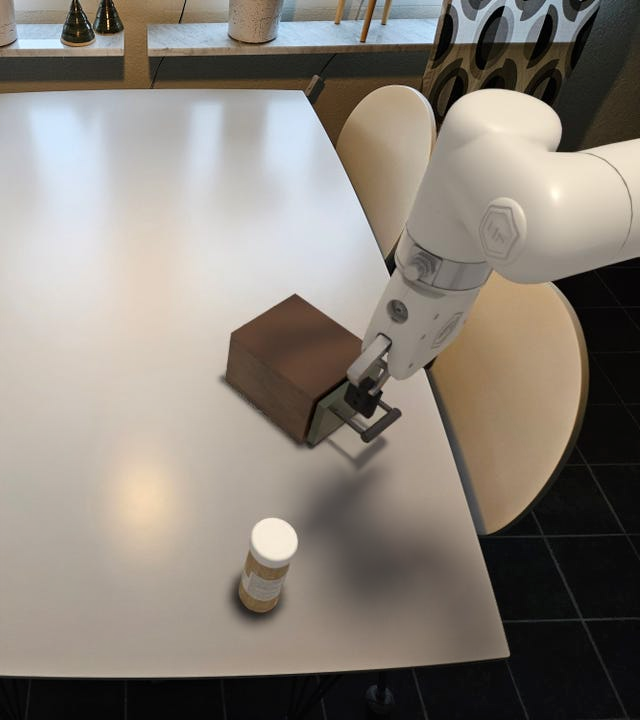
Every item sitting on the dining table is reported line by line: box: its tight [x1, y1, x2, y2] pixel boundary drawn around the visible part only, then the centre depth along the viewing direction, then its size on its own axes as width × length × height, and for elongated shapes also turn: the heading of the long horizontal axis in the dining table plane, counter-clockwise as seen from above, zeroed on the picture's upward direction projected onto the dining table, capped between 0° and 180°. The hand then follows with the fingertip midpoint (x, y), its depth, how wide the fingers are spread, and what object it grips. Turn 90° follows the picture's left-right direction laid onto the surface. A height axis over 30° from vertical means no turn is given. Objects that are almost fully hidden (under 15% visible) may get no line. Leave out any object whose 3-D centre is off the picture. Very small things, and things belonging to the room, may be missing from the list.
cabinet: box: [224, 293, 363, 445], centre depth 88 cm, size 15×13×10 cm
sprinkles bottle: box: [238, 517, 299, 613], centre depth 67 cm, size 5×5×14 cm
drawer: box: [306, 365, 403, 446], centre depth 86 cm, size 19×11×8 cm, turn 39°
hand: (387, 384), depth 65 cm, fingers open, 9 cm apart
